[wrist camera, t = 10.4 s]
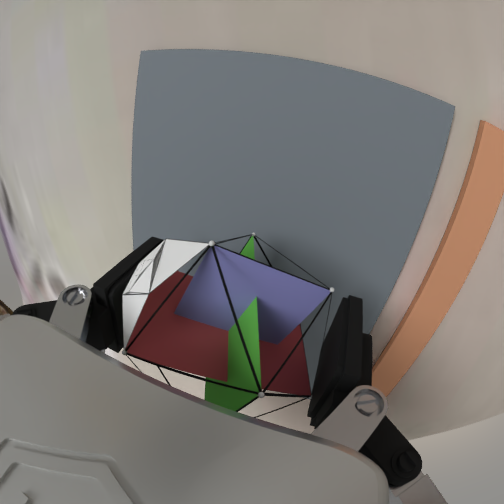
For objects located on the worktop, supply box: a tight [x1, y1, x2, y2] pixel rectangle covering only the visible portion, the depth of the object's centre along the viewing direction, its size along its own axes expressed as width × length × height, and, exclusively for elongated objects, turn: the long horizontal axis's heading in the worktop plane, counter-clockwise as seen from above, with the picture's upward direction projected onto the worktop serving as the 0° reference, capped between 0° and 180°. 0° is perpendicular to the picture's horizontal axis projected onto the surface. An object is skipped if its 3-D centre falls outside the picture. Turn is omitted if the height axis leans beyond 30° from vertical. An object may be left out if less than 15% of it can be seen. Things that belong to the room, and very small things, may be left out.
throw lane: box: [132, 49, 504, 399], centre depth 14 cm, size 18×19×1 cm
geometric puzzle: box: [122, 233, 334, 418], centre depth 10 cm, size 7×7×8 cm
